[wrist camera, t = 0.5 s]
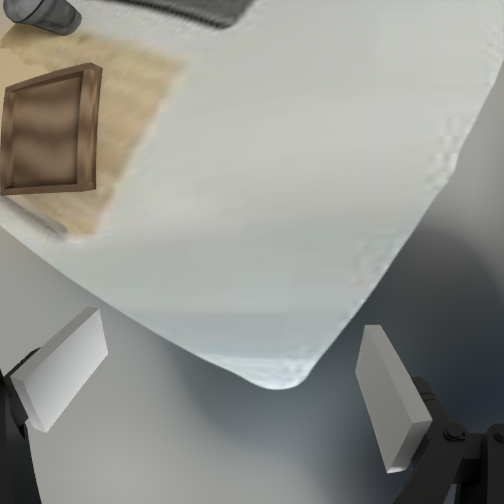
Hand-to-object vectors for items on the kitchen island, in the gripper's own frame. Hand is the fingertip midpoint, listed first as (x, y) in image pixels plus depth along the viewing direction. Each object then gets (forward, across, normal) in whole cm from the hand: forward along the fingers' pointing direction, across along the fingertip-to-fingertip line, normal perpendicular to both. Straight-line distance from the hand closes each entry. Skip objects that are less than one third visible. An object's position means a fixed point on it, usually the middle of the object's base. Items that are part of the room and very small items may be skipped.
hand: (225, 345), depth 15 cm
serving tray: (+28, -32, +14) cm, 44 cm away
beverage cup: (+28, -30, +33) cm, 53 cm away
